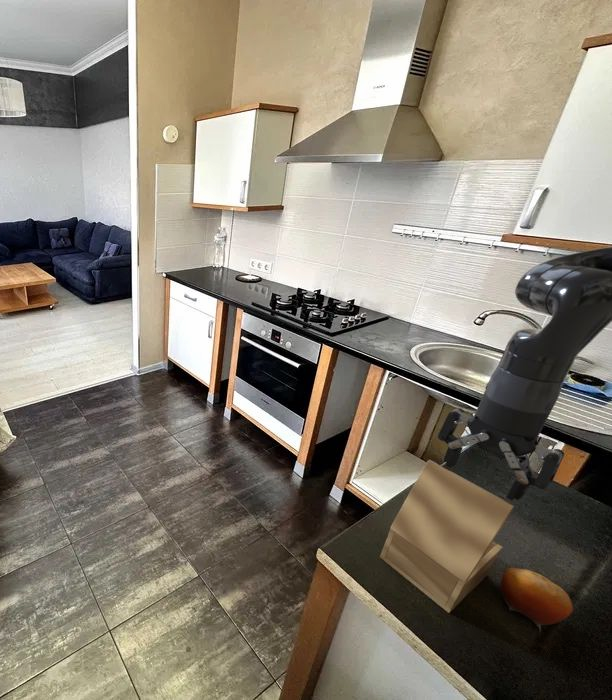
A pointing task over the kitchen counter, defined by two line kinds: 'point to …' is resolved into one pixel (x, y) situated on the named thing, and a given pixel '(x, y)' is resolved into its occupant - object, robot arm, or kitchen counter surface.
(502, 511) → the lid
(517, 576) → the fruit
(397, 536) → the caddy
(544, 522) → the kitchen counter surface
